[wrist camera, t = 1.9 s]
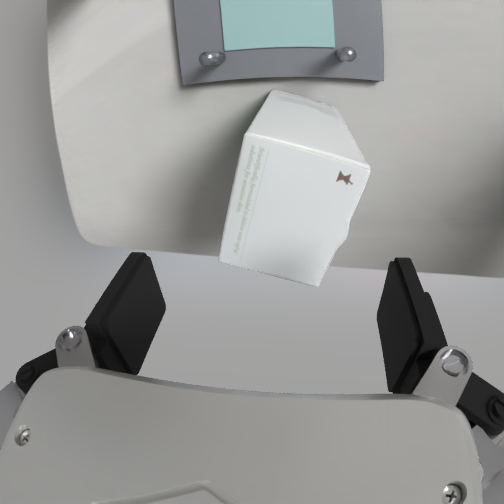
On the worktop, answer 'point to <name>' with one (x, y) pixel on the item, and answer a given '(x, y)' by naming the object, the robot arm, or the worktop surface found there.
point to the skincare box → (293, 190)
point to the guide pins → (220, 57)
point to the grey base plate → (279, 38)
